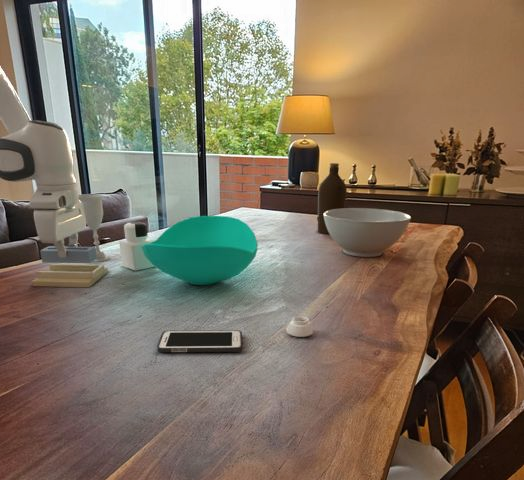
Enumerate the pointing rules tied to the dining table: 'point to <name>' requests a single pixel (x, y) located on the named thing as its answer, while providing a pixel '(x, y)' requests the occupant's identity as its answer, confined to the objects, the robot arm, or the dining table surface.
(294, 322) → the lidless jar
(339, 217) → the decorative bowl
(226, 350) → the cell phone
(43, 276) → the base pad
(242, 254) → the table top decor
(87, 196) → the chalice
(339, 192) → the olive oil
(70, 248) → the blue pad
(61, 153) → the robot arm
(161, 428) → the dining table surface
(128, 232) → the medicine bottle
